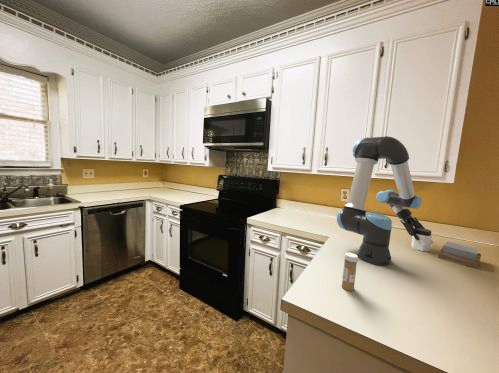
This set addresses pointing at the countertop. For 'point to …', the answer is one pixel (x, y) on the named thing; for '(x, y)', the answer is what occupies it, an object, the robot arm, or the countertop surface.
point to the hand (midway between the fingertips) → (427, 244)
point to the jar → (425, 236)
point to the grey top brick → (460, 250)
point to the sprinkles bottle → (349, 271)
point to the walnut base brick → (460, 259)
